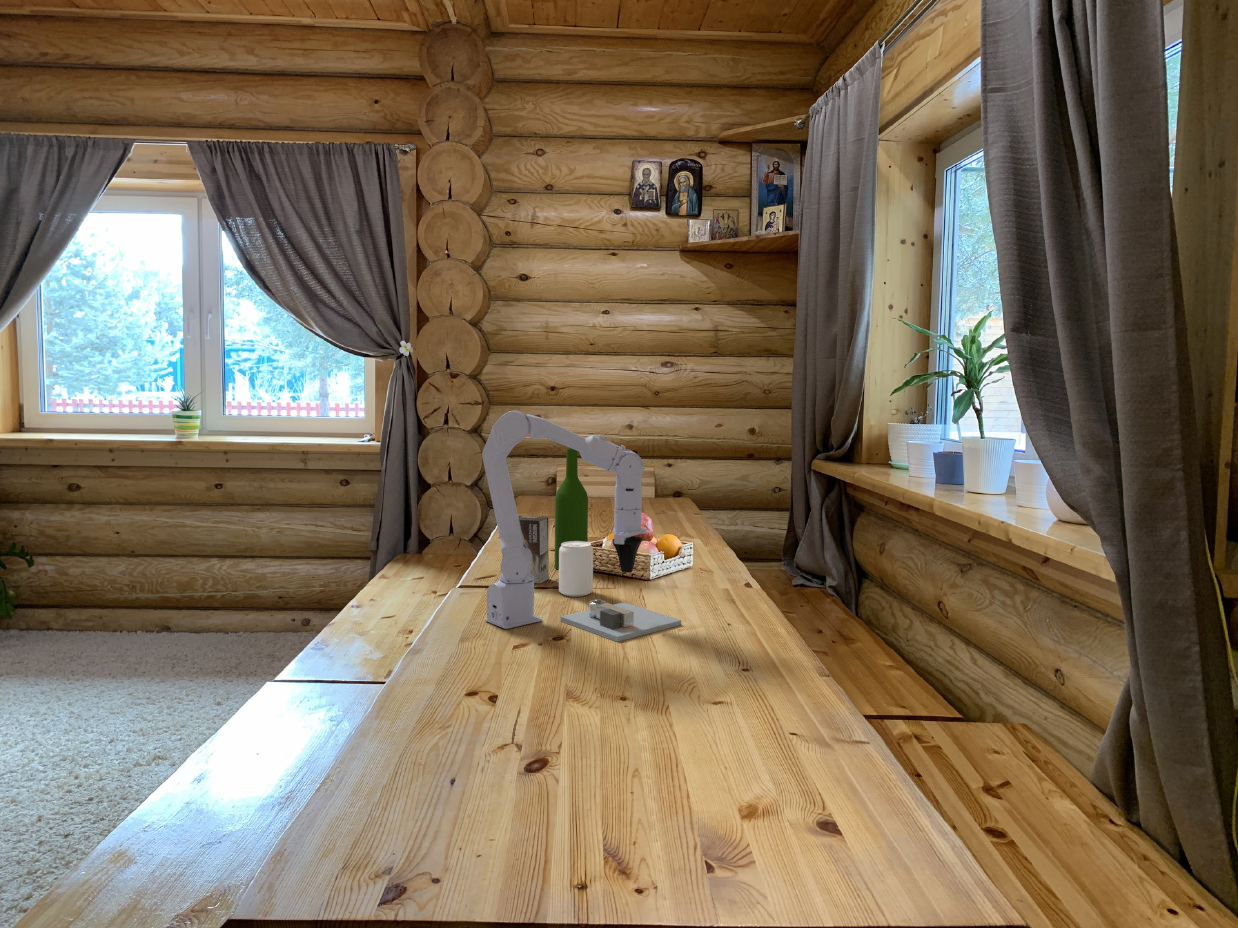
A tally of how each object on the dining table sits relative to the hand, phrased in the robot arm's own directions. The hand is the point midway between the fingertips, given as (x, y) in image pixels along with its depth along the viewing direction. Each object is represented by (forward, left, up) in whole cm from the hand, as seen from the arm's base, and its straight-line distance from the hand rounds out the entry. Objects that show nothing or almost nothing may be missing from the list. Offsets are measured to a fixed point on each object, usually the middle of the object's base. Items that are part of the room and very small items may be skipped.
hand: (627, 571), depth 172 cm
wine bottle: (+22, +46, -11) cm, 52 cm away
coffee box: (+4, +42, -11) cm, 44 cm away
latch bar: (-6, -1, -9) cm, 11 cm away
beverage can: (+6, +24, -11) cm, 27 cm away
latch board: (-2, -1, -10) cm, 11 cm away
